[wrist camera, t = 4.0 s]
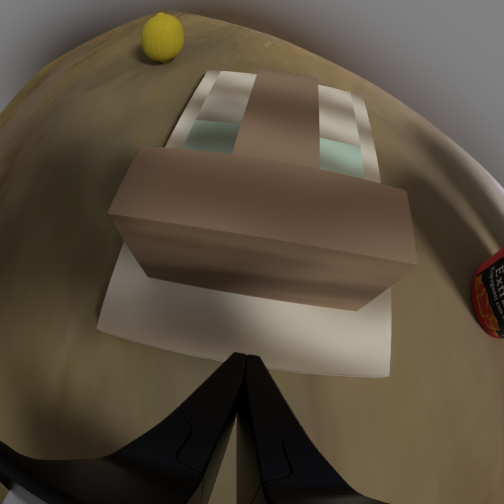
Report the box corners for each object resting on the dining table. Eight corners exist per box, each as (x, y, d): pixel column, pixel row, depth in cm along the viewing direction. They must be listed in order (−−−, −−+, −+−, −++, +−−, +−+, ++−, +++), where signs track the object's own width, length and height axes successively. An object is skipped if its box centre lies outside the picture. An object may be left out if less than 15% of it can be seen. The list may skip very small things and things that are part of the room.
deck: (380, 377, 16) (389, 376, 15) (103, 332, 16) (96, 328, 15) (359, 103, 29) (362, 96, 28) (208, 78, 29) (208, 70, 28)
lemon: (192, 63, 31) (190, 10, 24) (154, 76, 30) (146, 21, 23) (175, 52, 33) (171, 5, 26) (139, 64, 32) (132, 15, 24)
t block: (356, 311, 17) (417, 265, 11) (147, 277, 17) (106, 213, 11) (351, 159, 23) (379, 94, 17) (199, 134, 23) (194, 63, 17)
